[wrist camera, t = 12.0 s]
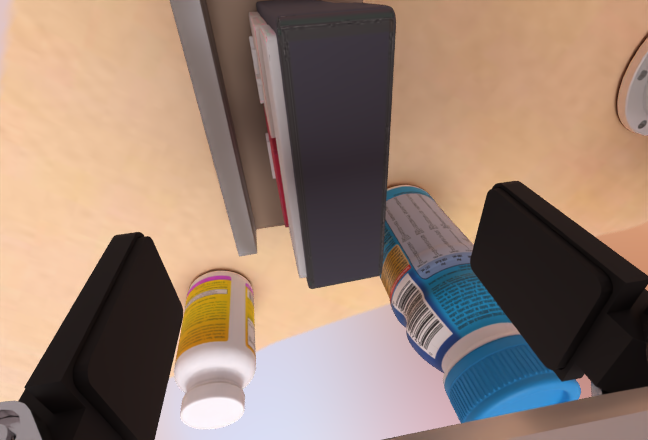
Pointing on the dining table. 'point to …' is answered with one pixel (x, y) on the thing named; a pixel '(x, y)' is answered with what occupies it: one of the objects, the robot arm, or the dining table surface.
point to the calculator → (328, 128)
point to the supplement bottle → (216, 350)
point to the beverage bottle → (458, 315)
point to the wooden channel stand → (232, 110)
